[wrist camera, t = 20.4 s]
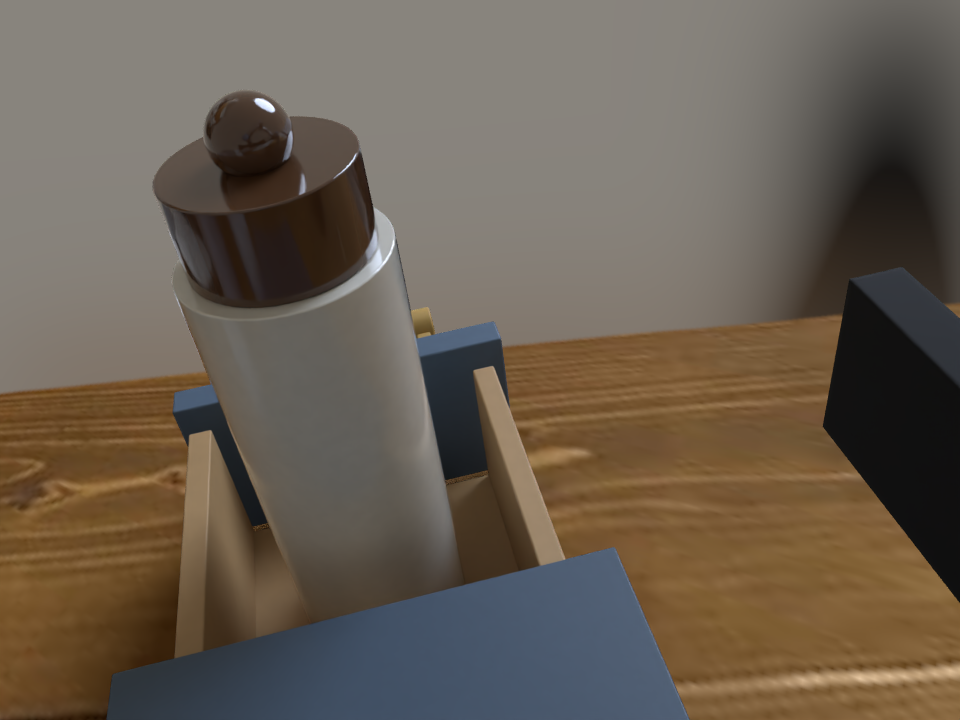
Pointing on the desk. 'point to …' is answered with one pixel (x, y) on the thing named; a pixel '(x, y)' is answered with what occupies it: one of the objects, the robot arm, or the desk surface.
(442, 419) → the drawer
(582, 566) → the cabinet
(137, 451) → the desk surface
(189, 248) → the salt mill
